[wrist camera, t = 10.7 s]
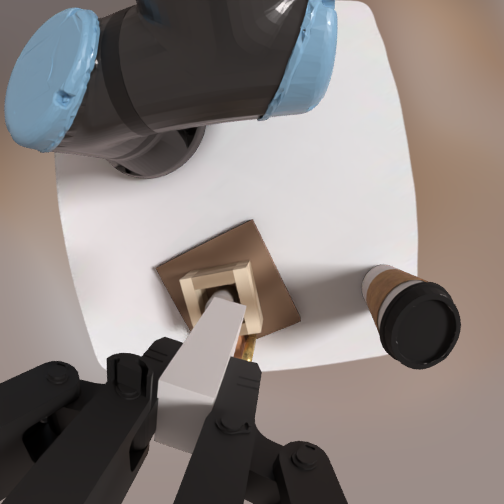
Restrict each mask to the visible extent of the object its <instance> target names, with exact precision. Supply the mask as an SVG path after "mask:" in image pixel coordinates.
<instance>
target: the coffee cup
mask: <svg viewBox="0 0 504 504" xmlns="http://www.w3.org/2000/svg"><path fill="white" fill-rule="evenodd" d="M362 294H363V297H364V299H365V301H366V303H367V305H368V308H369V310H370V313H371V315H372V318H373V320H374V322H375V325H376V327H377V330H378V332H379V335H380V341H381V343H382V346H383V348H384V349H385V351H386V352H387V353H388V354H389V355H390V356H391V357H393V358H394V359H396V360H398V361H400V362H401V363H402V364H403V365H405V366H407V367H409V368H412V369H426V368H429V367H432V366H434V365H436V364H438V363H439V362H441V361H442V360H444V359H445V358H446V357H447V356H448V355H449V353H450V352H451V351H452V349H453V348H454V346H455V344H456V342H457V340H458V338H459V334H460V328H461V322H460V316H459V312H458V310H457V308H456V306H455V304H454V303H453V300H452V298H451V296H450V295H449V294H448V292H447V291H446V290H445V289H444V288H443V287H441V286H440V285H438V284H436V283H433V282H428V281H425V280H423V279H421V278H418V277H416V276H414V275H411V274H409V273H406V272H404V271H401V270H399V269H397V268H395V267H392V266H390V265H379V266H376V267H374V268H372V269H371V270H370V271H369V272H368V273H367V274H366V276H365V277H364V280H363V282H362Z"/></svg>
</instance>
